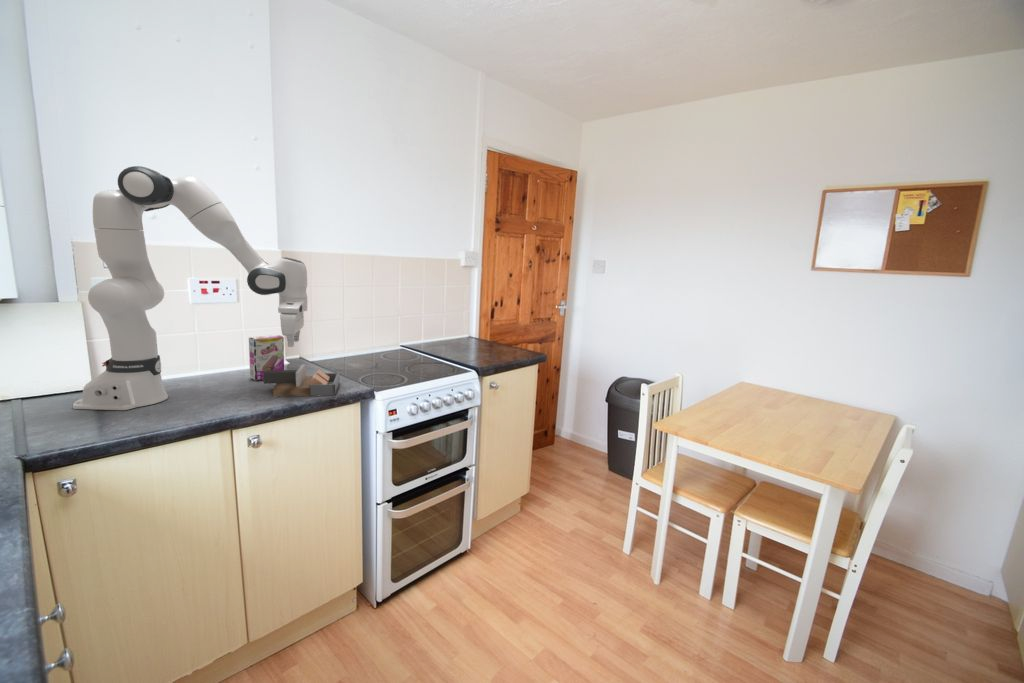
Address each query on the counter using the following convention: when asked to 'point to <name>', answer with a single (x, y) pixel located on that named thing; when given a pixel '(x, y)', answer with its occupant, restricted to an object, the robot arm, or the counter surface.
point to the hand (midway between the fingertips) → (293, 343)
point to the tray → (326, 386)
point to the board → (293, 388)
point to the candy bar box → (265, 355)
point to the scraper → (285, 376)
